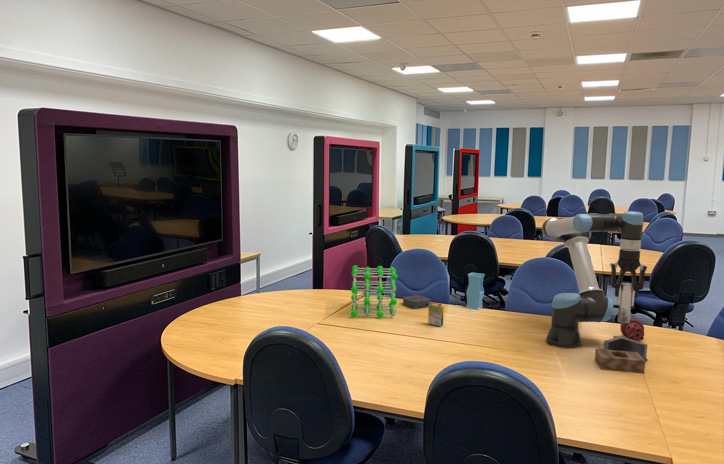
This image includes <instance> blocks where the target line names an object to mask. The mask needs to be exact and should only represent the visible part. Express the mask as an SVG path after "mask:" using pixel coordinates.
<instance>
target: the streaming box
mask: <svg viewBox="0 0 724 464" xmlns="http://www.w3.org/2000/svg"><path fill="white" fill-rule="evenodd" d="M429 302H431V299H430V298H429V297H426V296H423V295H419V294H418V295H410V296H407V295H406V296H404V297H403V298H402V305H403V306H404V307H407V308H409V309H412V310H419V309H426V308H429Z"/></svg>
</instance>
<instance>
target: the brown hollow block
mask: <svg viewBox="0 0 724 464" xmlns="http://www.w3.org/2000/svg"><path fill="white" fill-rule="evenodd" d="M594 351H595V354H594V361H595V362H596V364H597V365H598V367H599V369H600V370H606V371H607V370H608V371H616V372H617V371H619V372H629V373H637V374H638V373H639V374H645V369H646V361H645V360H644V359H643V358H642V357H641V356H640V355H639V354H638V353H637V352H629V351H617V350H605V349H598V348H595V350H594Z"/></svg>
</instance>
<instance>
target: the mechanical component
mask: <svg viewBox="0 0 724 464" xmlns="http://www.w3.org/2000/svg"><path fill="white" fill-rule="evenodd" d="M619 325H620V332H621V334H622V335H623V336H625V337H627V338H628V339H631V340H634V341H638V342H639V341H643V340H644V338H645V337H644V336H645V325H644V324H643V323H642V322H641V321H640V320H639V319H636V318H633V317H630V321H629V323H621V322H620V324H619Z"/></svg>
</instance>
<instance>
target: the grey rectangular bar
mask: <svg viewBox="0 0 724 464" xmlns="http://www.w3.org/2000/svg"><path fill="white" fill-rule="evenodd" d="M620 289H621V300H620V305H618V310H617V311H618V312H617V322H618V323H620V324H621V323H629V321H630V318H631V309H632V308H631V307H632V306H631V299H632V289H633V283H629V282H622V283H621V286H620Z"/></svg>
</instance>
